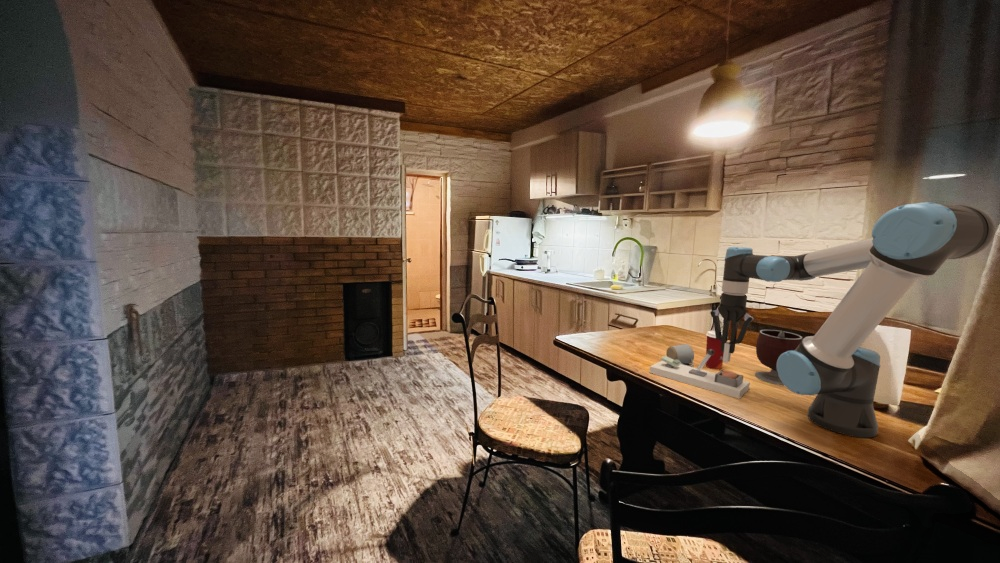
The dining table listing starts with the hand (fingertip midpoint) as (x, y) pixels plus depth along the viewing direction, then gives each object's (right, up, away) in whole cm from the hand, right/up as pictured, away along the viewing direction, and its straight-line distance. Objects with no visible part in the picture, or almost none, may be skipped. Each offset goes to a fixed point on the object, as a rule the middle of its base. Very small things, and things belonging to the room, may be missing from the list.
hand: (726, 361), depth 136 cm
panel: (-6, -8, +7) cm, 13 cm away
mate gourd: (+24, -9, +11) cm, 28 cm away
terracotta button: (+1, -6, 0) cm, 6 cm away
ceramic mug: (-4, -6, +25) cm, 26 cm away
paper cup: (+8, -7, +23) cm, 25 cm away
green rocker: (-13, -3, +14) cm, 19 cm away
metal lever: (-6, -4, +7) cm, 10 cm away
